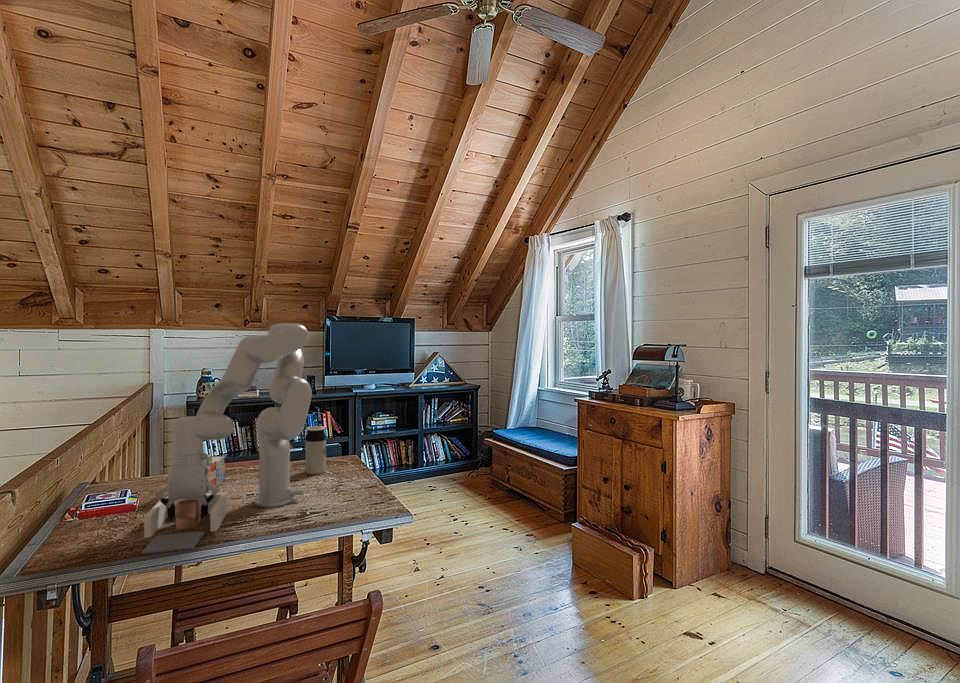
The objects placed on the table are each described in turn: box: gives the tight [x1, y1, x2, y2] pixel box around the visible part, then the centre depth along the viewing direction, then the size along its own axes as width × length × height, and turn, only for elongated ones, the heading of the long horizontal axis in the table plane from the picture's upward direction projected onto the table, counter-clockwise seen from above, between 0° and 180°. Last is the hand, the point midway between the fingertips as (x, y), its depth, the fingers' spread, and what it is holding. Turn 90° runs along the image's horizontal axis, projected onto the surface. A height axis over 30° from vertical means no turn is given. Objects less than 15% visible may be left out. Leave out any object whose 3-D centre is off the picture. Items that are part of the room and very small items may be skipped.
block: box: [175, 498, 201, 530], centre depth 145 cm, size 5×5×7 cm
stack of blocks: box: [203, 454, 226, 487], centre depth 176 cm, size 21×6×12 cm, turn 0°
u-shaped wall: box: [143, 492, 229, 538], centre depth 146 cm, size 18×16×6 cm
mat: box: [141, 531, 205, 555], centre depth 133 cm, size 12×10×1 cm
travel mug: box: [304, 425, 327, 475], centre depth 199 cm, size 8×8×18 cm
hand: (188, 518), depth 145 cm, fingers open, 7 cm apart
